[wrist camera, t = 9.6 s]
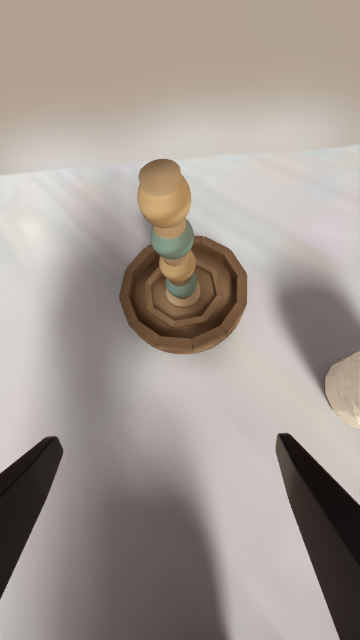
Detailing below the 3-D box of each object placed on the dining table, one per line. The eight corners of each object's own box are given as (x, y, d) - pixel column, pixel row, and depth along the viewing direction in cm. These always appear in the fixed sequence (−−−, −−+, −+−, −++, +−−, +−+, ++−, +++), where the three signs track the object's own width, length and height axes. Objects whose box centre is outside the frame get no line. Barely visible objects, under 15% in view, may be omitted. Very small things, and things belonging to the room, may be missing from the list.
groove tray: (198, 381, 22) (198, 378, 20) (102, 310, 27) (93, 302, 24) (268, 280, 26) (273, 268, 24) (172, 231, 30) (170, 218, 28)
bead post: (177, 314, 24) (145, 210, 11) (160, 288, 26) (113, 170, 13) (207, 296, 25) (208, 176, 12) (188, 272, 26) (171, 140, 13)
